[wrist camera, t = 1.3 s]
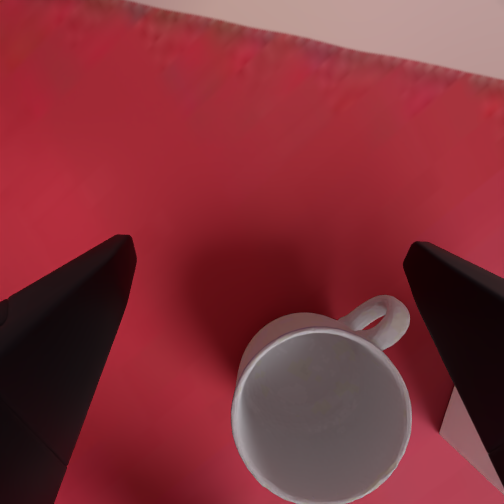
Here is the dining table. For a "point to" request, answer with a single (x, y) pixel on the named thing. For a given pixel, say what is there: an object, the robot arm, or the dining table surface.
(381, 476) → the teacup
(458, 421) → the milk
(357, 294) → the dining table surface
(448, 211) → the dining table surface
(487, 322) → the robot arm
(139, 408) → the dining table surface
